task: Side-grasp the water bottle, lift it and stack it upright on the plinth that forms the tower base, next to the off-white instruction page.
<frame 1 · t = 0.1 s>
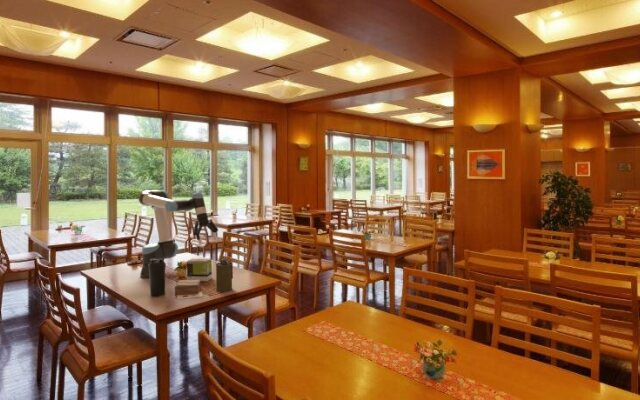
hand: (208, 242, 280), 28 cm above the table, tool tilted 20°, fingers open, 13 cm apart
canister: (224, 289, 263), on the table
instruction page: (189, 295, 250), on the table
plinth: (188, 291, 257), on the table
tea box: (199, 279, 287), on the table
water bottle: (157, 295, 251), on the table
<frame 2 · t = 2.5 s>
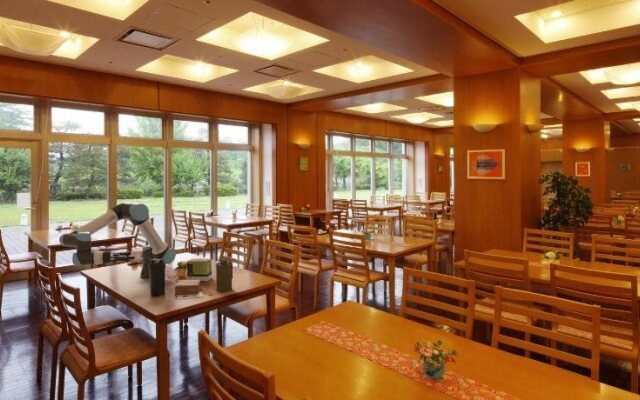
hand: (141, 255, 246), 26 cm above the table, tool horizontal, fingers open, 13 cm apart
nothing on the table moved.
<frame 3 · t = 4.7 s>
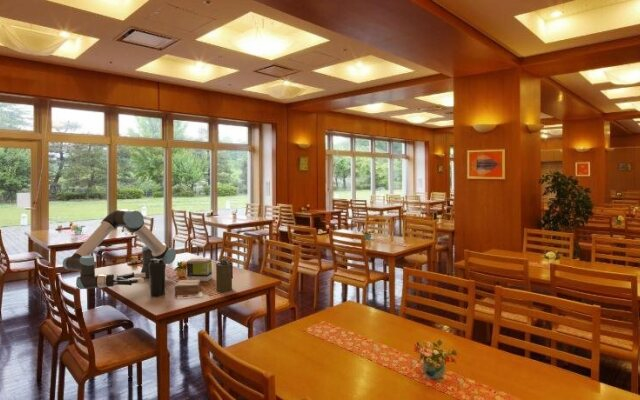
hand: (144, 277, 247), 12 cm above the table, tool horizontal, fingers open, 13 cm apart
nothing on the table moved.
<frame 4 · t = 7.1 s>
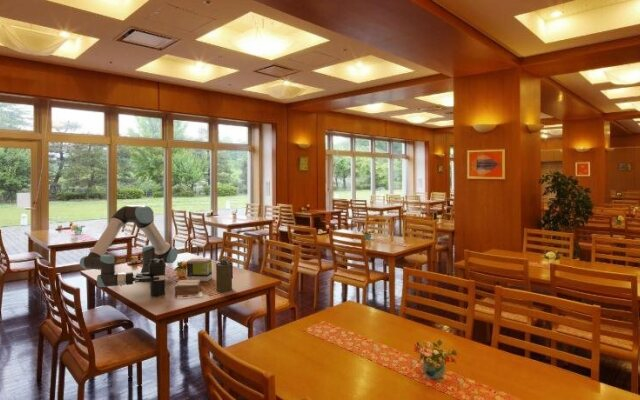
hand: (165, 275, 252), 12 cm above the table, tool horizontal, fingers closed on water bottle, 9 cm apart
water bottle: (157, 295, 251), on the table, touching gripper
everything else where it was.
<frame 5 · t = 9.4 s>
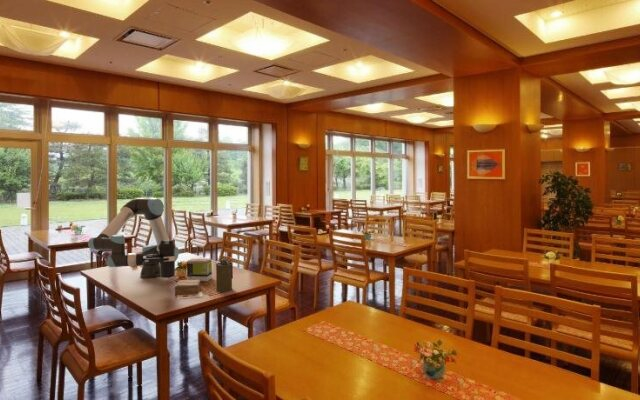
hand: (174, 256, 252), 24 cm above the table, tool horizontal, fingers closed on water bottle, 9 cm apart
water bottle: (167, 276, 251), point 12 cm above the table, touching gripper
everything else where it was.
when the fingers open (19 cm above the table, at t = 11.8 s): water bottle drops 1 cm, resting on plinth.
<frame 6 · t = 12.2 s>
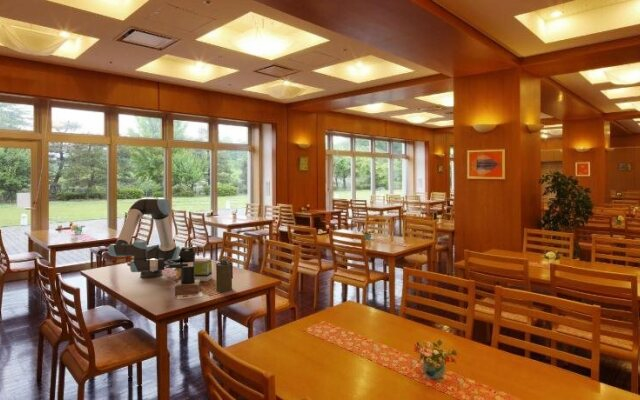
hand: (192, 261, 257), 19 cm above the table, tool horizontal, fingers open, 13 cm apart
water bottle: (187, 282, 257), point 6 cm above the table, touching plinth
everything else where it was.
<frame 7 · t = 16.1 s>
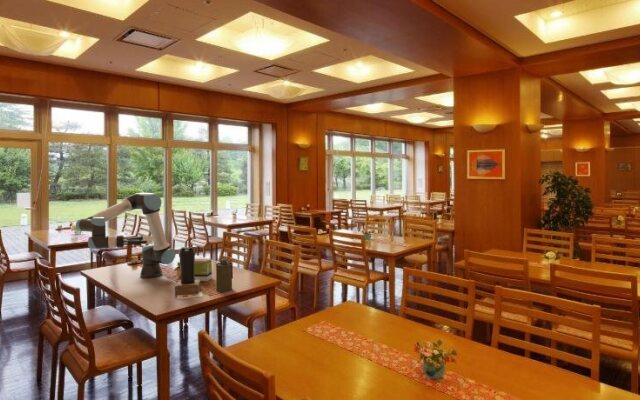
hand: (153, 239, 256), 34 cm above the table, tool horizontal, fingers open, 13 cm apart
nothing on the table moved.
at the end: water bottle inside the target area on the plinth (0.1 cm from its centre), point 6.1 cm above the plinth's base; water bottle tilted 0°; the gripper is holding nothing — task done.
